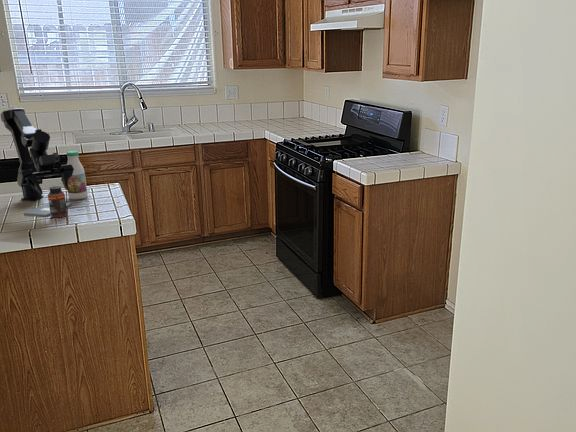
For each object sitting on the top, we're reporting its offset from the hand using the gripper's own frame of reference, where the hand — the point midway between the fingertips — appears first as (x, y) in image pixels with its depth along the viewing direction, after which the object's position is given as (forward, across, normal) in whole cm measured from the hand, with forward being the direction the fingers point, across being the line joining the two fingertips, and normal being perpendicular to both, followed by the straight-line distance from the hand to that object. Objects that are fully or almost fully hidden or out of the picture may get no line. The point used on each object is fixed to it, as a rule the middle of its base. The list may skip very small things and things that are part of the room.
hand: (54, 191), depth 193 cm
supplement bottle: (+8, 0, +6) cm, 10 cm away
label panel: (0, 0, +13) cm, 13 cm away
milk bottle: (-8, +15, +21) cm, 27 cm away
